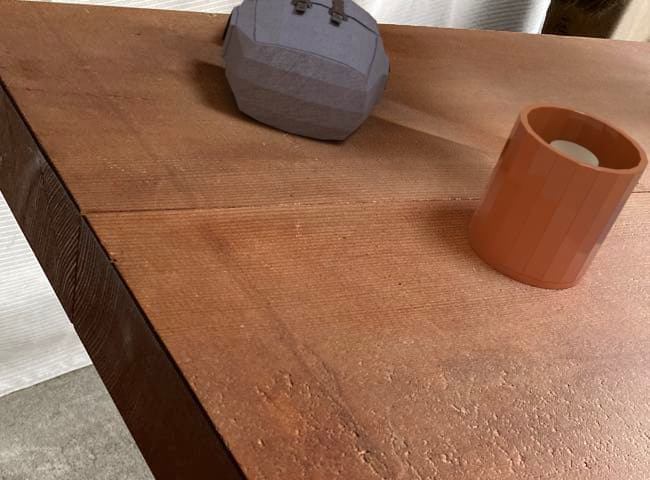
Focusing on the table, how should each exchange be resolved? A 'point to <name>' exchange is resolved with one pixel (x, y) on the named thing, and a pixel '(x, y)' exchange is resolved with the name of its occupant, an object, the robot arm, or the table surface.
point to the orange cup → (554, 196)
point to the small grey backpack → (305, 64)
